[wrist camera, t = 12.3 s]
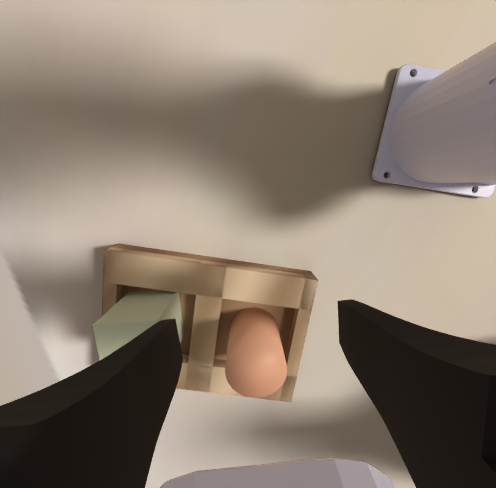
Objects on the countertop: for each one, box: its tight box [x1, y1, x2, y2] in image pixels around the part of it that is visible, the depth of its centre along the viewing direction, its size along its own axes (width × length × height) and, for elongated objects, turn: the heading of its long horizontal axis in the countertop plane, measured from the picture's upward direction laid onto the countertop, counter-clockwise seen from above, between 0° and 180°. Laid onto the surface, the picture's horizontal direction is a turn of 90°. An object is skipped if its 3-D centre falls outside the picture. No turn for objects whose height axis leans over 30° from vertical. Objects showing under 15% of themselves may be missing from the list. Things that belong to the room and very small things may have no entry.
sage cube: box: [92, 290, 184, 360], centre depth 19 cm, size 4×4×5 cm
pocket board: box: [102, 244, 318, 402], centre depth 21 cm, size 16×11×2 cm
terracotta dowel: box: [225, 307, 287, 398], centre depth 19 cm, size 4×4×5 cm
